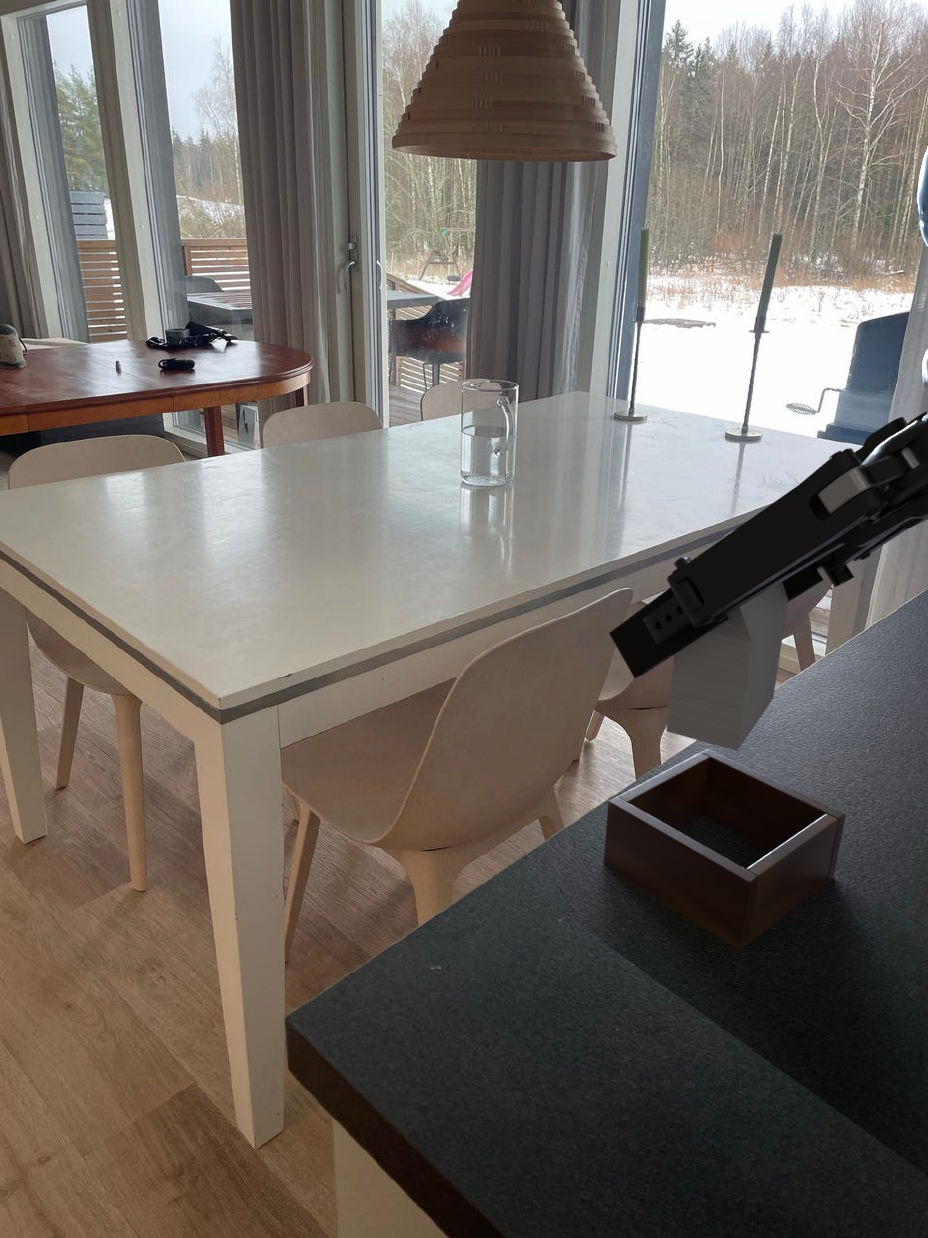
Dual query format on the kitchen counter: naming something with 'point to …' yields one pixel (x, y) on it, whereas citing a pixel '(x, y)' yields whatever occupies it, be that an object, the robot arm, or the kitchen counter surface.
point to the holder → (702, 877)
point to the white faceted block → (729, 673)
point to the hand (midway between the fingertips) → (676, 633)
